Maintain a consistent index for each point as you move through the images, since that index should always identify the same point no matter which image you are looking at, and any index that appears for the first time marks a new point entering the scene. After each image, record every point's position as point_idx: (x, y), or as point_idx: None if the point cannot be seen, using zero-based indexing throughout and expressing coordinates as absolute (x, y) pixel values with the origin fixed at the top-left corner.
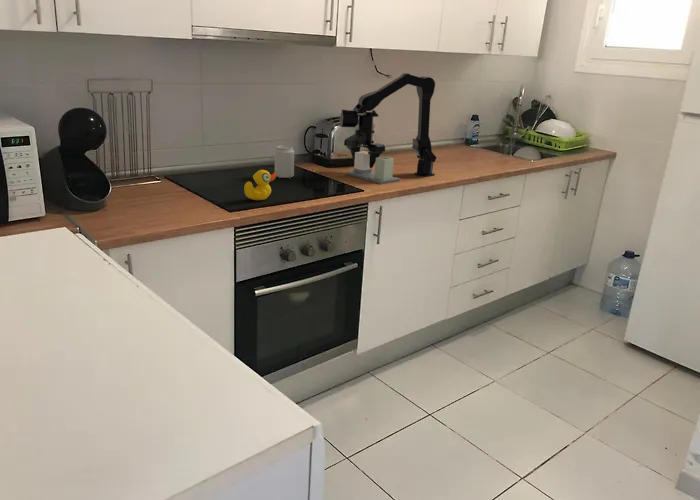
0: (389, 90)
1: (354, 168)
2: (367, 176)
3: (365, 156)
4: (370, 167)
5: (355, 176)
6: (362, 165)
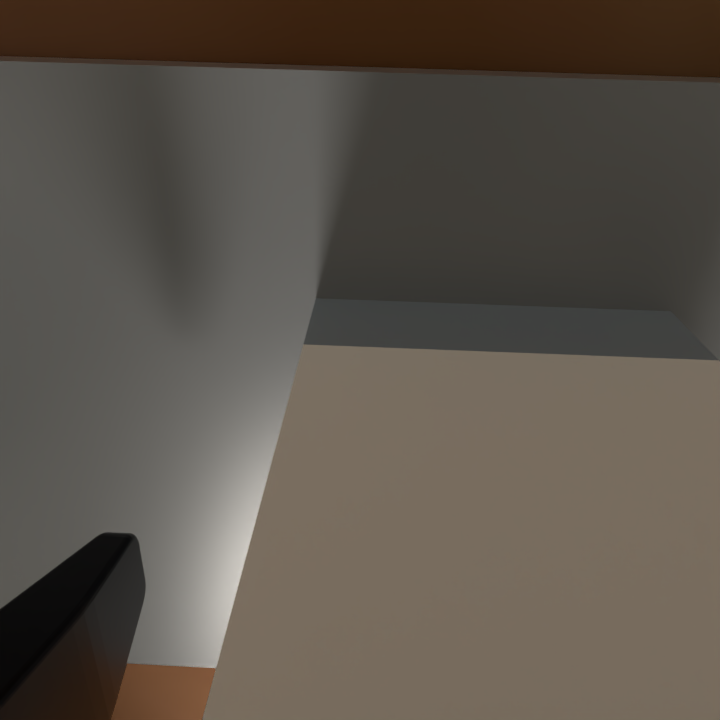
0: None
1: (700, 357)
2: (4, 204)
3: None
4: (85, 545)
5: (385, 69)
6: (300, 436)
